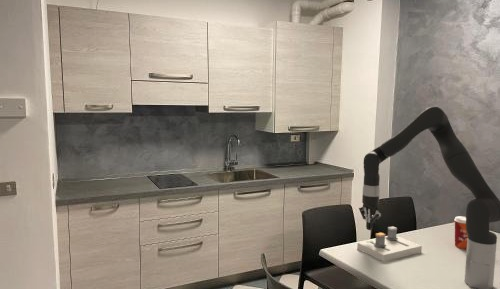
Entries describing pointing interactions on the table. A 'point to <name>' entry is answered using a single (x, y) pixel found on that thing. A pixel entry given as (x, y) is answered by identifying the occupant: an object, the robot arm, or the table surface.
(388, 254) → the switch box
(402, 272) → the table surface
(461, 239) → the paper cup
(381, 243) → the orange and grey block
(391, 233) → the on lever
